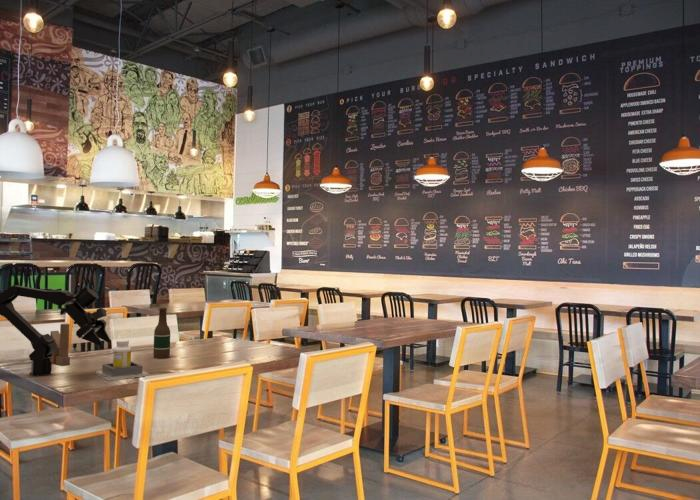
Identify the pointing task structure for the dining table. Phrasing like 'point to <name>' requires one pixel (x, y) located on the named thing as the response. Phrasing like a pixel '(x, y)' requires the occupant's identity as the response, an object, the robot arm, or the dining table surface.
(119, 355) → the supplement bottle
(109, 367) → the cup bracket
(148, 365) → the dining table surface
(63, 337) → the wooden block
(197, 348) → the dining table surface
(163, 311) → the beer bottle
